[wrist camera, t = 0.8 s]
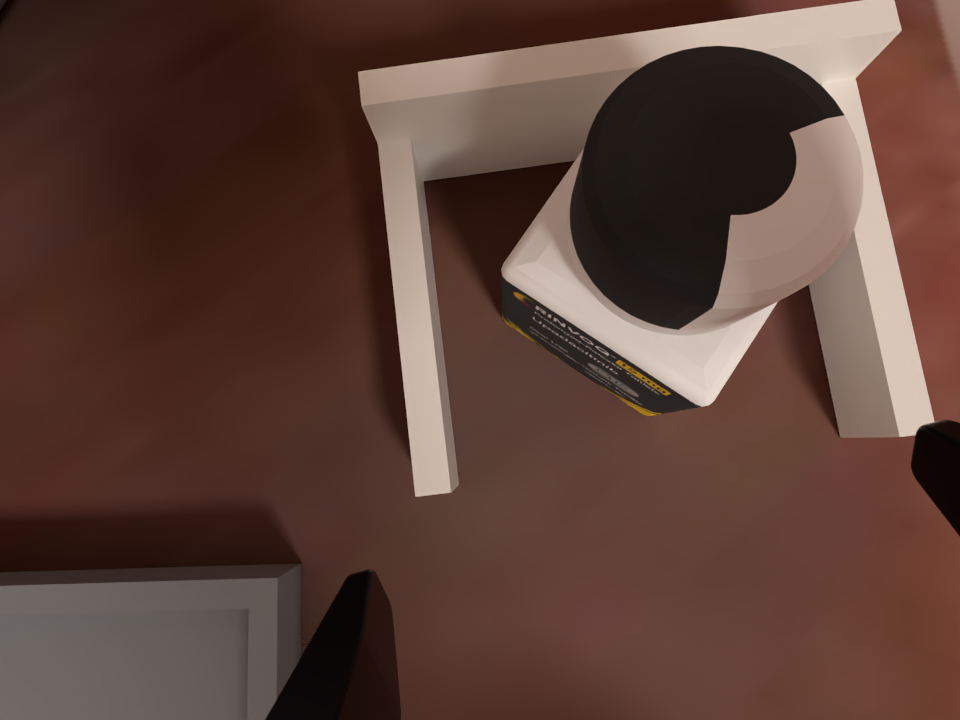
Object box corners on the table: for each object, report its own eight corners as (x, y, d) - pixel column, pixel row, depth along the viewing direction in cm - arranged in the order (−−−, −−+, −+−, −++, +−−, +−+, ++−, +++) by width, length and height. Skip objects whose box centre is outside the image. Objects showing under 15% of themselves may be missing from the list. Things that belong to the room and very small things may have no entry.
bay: (871, 433, 23) (999, 431, 17) (428, 488, 23) (402, 505, 17) (800, 102, 25) (893, -4, 19) (392, 158, 25) (358, 71, 19)
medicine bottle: (498, 320, 24) (492, 203, 12) (595, 180, 25) (678, -59, 13) (648, 420, 23) (797, 398, 12) (745, 273, 24) (979, 109, 12)
